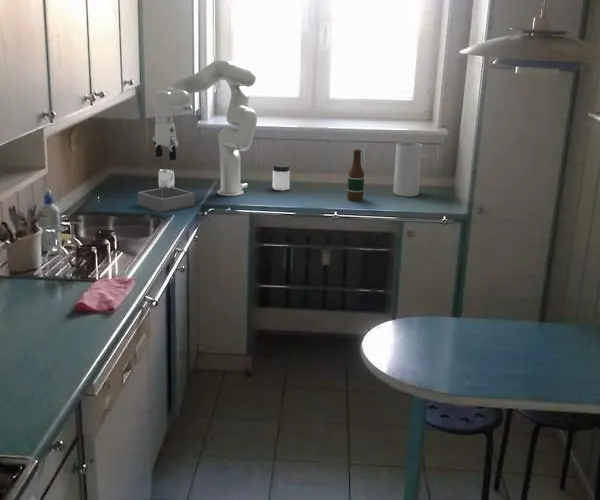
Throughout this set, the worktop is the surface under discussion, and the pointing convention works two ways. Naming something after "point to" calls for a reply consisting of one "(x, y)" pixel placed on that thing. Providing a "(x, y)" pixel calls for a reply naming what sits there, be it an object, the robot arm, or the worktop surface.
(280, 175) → the jar
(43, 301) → the worktop surface
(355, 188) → the beer bottle
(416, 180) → the cylinder vase
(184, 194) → the bin
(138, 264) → the worktop surface
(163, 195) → the beer glass
